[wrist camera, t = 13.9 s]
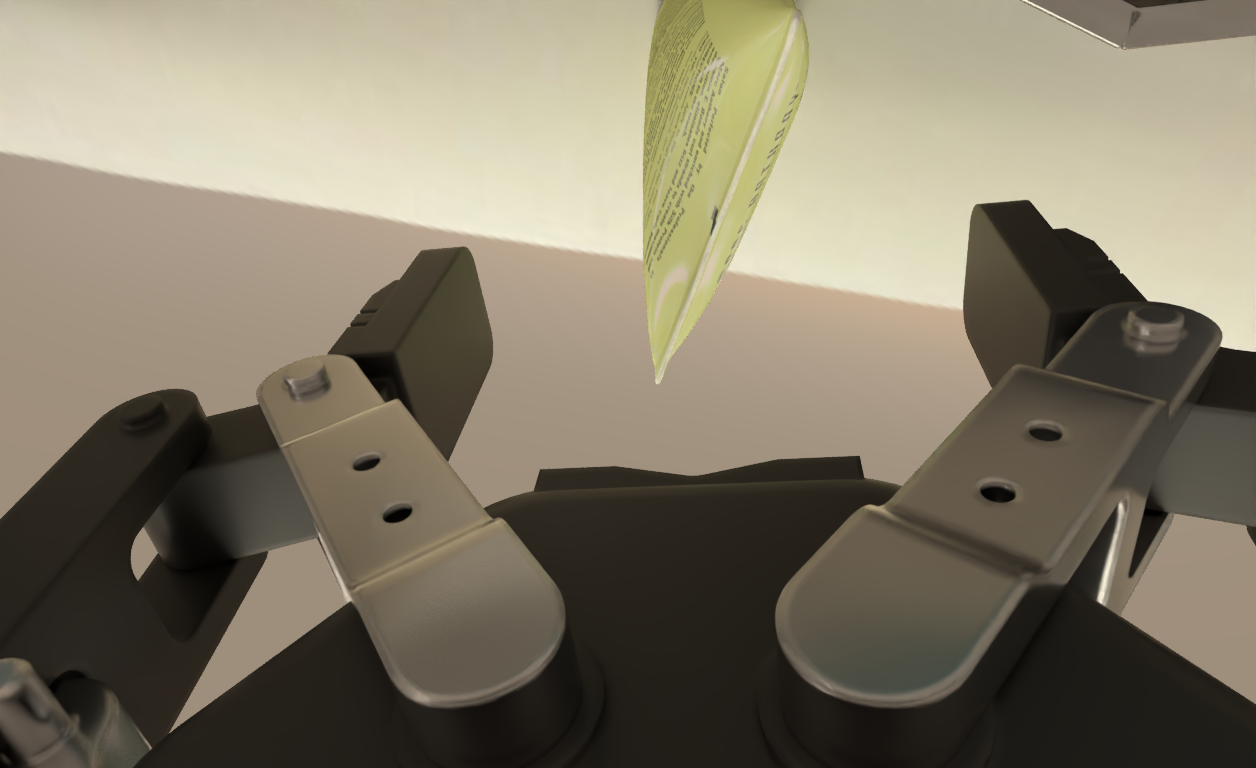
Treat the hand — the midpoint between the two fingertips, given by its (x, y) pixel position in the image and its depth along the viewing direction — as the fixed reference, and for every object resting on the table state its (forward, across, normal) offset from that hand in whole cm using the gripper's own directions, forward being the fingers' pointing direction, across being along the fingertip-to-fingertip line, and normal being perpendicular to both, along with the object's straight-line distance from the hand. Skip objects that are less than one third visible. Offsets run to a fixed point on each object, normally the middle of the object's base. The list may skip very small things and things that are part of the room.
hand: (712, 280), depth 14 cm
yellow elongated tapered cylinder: (+22, 0, 0) cm, 22 cm away
